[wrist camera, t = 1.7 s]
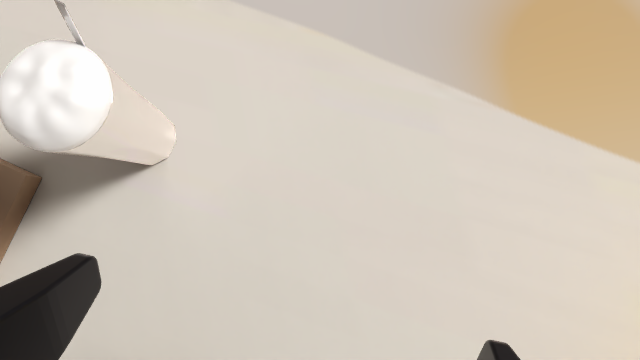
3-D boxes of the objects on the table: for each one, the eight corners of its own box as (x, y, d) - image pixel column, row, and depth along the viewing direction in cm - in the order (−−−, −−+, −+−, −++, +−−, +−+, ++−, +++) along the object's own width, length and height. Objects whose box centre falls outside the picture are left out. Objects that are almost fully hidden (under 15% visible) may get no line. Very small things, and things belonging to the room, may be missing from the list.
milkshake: (208, 109, 24) (113, 27, 14) (164, 190, 24) (34, 164, 14) (143, 76, 25) (7, -25, 15) (99, 155, 24) (-71, 106, 14)
